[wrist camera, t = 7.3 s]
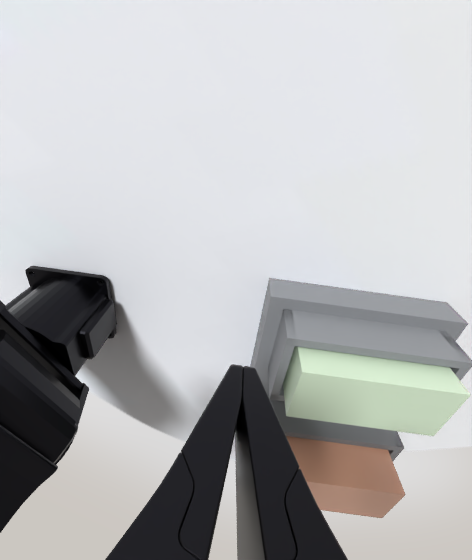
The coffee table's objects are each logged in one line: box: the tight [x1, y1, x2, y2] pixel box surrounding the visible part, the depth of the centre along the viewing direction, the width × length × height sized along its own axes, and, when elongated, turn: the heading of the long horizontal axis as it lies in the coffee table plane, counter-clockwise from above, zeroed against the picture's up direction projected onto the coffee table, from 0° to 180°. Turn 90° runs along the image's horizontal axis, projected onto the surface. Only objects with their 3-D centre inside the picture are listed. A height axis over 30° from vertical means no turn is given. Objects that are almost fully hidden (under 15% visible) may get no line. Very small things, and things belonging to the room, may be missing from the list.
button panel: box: [250, 278, 472, 462], centre depth 24 cm, size 14×18×6 cm
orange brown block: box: [286, 436, 405, 518], centre depth 23 cm, size 10×4×4 cm, turn 83°
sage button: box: [283, 346, 470, 436], centre depth 19 cm, size 10×4×4 cm, turn 83°
